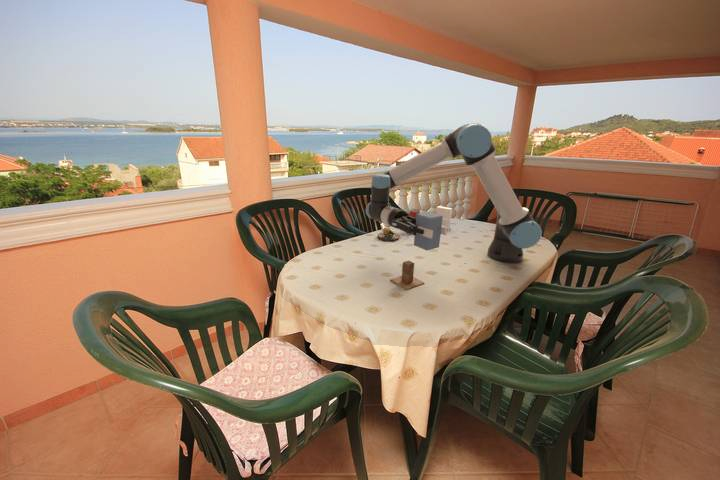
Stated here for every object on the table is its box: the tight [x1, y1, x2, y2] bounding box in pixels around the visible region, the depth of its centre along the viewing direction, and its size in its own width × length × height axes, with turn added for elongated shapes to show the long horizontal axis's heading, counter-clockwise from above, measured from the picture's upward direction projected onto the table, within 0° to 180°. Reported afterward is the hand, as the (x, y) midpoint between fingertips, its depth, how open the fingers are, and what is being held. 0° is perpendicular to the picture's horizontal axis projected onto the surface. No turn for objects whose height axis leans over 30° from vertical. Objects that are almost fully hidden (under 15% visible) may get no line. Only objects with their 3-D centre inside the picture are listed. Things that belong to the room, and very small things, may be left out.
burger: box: [377, 226, 401, 242], centre depth 168 cm, size 12×12×8 cm
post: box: [389, 260, 425, 291], centre depth 119 cm, size 9×9×8 cm
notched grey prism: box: [413, 211, 443, 251], centre depth 113 cm, size 6×6×12 cm
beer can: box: [408, 209, 421, 222], centre depth 180 cm, size 7×7×12 cm
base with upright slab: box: [435, 205, 453, 230], centre depth 188 cm, size 9×9×12 cm
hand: (438, 232), depth 109 cm, fingers closed on notched grey prism, 6 cm apart
